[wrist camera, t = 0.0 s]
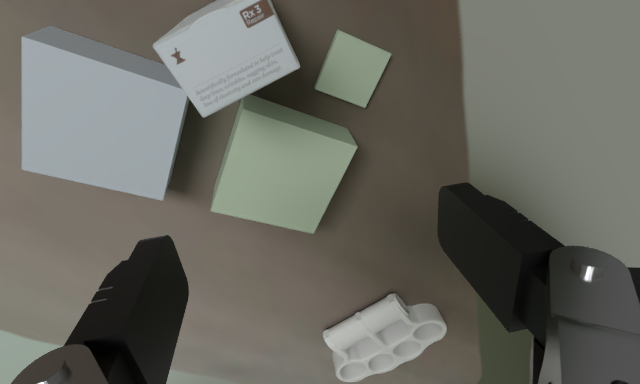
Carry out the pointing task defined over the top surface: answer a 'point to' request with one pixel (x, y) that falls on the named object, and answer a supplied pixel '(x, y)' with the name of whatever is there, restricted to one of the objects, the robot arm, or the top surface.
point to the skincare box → (227, 52)
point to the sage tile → (351, 69)
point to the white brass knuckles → (382, 337)
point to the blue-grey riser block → (99, 114)
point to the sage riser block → (281, 165)
